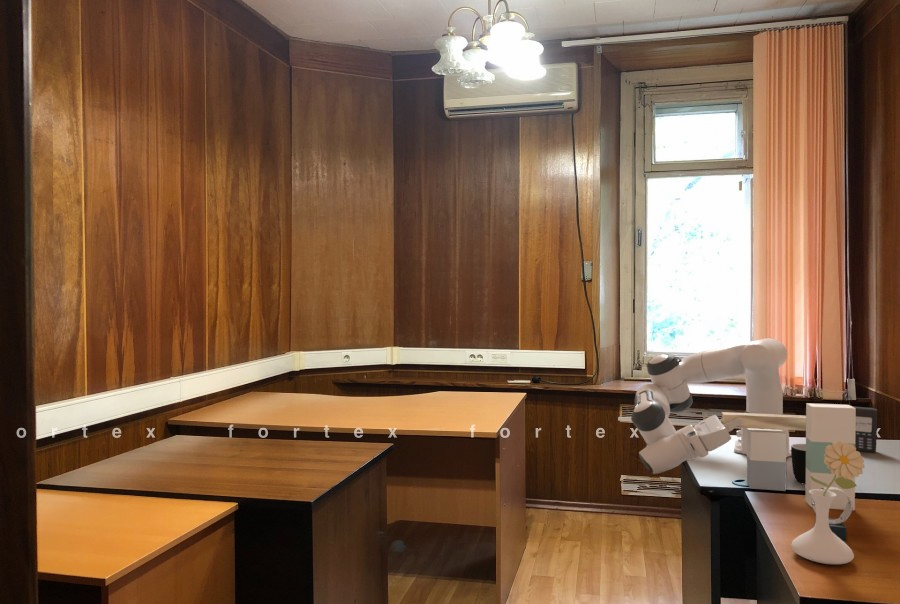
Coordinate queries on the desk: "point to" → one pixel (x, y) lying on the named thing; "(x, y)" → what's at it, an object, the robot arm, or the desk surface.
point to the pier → (766, 459)
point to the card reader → (866, 429)
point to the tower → (820, 432)
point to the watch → (837, 524)
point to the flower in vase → (820, 538)
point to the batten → (766, 421)
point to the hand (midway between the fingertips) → (738, 418)
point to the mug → (799, 462)
